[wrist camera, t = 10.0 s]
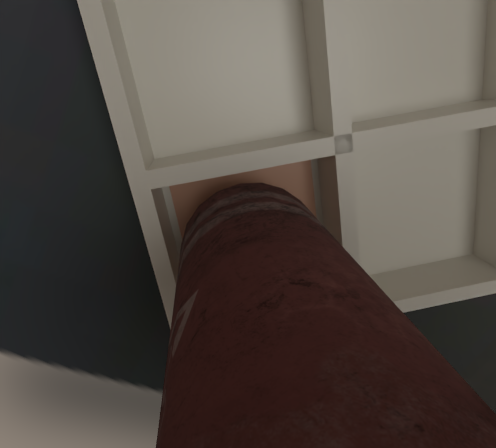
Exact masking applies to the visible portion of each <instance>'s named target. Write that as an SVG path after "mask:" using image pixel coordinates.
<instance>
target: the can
mask: <svg viewBox="0 0 496 448" xmlns="http://www.w3.org/2000/svg"><path fill="white" fill-rule="evenodd" d="M156 448H496V414H495V413H494V412H493V411H492V410H491V409H490V408H489V407H488V405H487V404H486V403H485V402H484V401H483V400H482V399H481V398H480V397H479V396H478V394H477V393H476V392H475V391H474V390H473V389H472V388H471V387H470V386H469V385H468V384H467V382H466V381H465V380H464V379H463V378H462V377H461V376H460V375H459V374H458V373H457V371H456V370H455V369H454V368H453V367H452V366H451V365H450V364H449V363H448V362H447V361H446V359H445V358H444V357H443V356H442V355H441V354H440V353H439V352H438V351H437V350H436V348H435V347H434V346H433V345H432V344H431V343H430V342H429V341H428V340H427V339H426V337H425V336H424V335H423V334H422V333H421V332H420V331H419V330H418V329H417V328H416V327H415V325H414V324H413V323H412V322H411V321H410V320H409V319H408V318H407V317H406V316H405V314H404V313H403V312H402V311H401V310H400V309H399V308H398V307H397V306H396V305H395V303H394V302H393V301H392V300H391V299H390V298H389V297H388V296H387V295H386V294H385V293H384V291H383V290H382V289H381V288H380V287H379V286H378V285H377V284H376V283H375V282H374V280H373V279H372V278H371V277H370V276H369V275H368V274H367V273H366V272H365V271H364V269H363V268H362V267H361V266H360V265H359V264H358V263H357V262H356V261H355V260H354V259H353V257H352V256H351V255H350V254H349V253H348V252H347V251H346V250H345V249H344V248H343V246H342V245H341V244H340V243H339V242H338V241H337V240H336V239H335V238H334V237H333V235H332V234H331V233H330V232H329V231H328V230H327V229H326V228H325V227H324V226H323V225H322V223H321V222H320V221H319V220H318V219H317V218H316V217H315V216H314V215H313V214H312V212H311V211H310V210H309V209H308V208H307V207H306V206H305V205H304V204H303V203H302V201H301V200H299V199H298V198H296V197H295V196H293V195H292V194H290V193H289V192H287V191H286V190H284V189H283V188H279V187H276V186H272V185H269V184H265V183H241V184H236V185H234V186H231V187H228V188H225V189H223V190H220V191H217V192H216V193H215V194H213V195H212V196H211V197H209V198H208V199H207V200H206V201H204V202H203V203H202V204H200V205H199V206H198V208H197V209H196V211H195V212H194V214H193V215H192V217H191V218H190V220H189V221H188V223H187V224H186V228H185V232H184V236H183V240H182V243H181V250H180V259H179V267H178V275H177V283H176V291H175V299H174V307H173V315H172V323H171V331H170V339H169V347H168V355H167V363H166V371H165V379H164V387H163V395H162V405H161V412H160V420H159V428H158V436H157V444H156Z"/></svg>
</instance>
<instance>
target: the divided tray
mask: <svg viewBox="0 0 496 448" xmlns="http://www.w3.org/2000/svg"><path fill="white" fill-rule="evenodd" d="M77 2H78V6H79V9H80V13H81V16H82V20H83V23H84V27H85V30H86V34H87V38H88V41H89V45H90V48H91V52H92V55H93V59H94V62H95V66H96V69H97V73H98V76H99V80H100V83H101V87H102V90H103V94H104V97H105V101H106V104H107V108H108V111H109V115H110V118H111V122H112V125H113V129H114V132H115V136H116V139H117V143H118V146H119V150H120V154H121V157H122V161H123V164H124V168H125V171H126V175H127V178H128V182H129V185H130V189H131V192H132V196H133V199H134V203H135V206H136V210H137V213H138V217H139V220H140V224H141V227H142V231H143V234H144V238H145V241H146V245H147V248H148V252H149V255H150V259H151V262H152V266H153V269H154V273H155V277H156V280H157V284H158V287H159V291H160V294H161V298H162V301H163V305H164V308H165V312H166V315H167V319H168V322H169V326H170V329H171V323H172V315H173V307H174V299H175V291H176V283H177V275H178V267H179V259H180V250H181V243H182V240H183V236H184V232H185V228H186V224H187V223H188V221H189V220H190V218H191V217H192V215H193V214H194V212H195V211H196V209H197V208H198V206H199V205H200V204H202V203H203V202H204V201H206V200H207V199H208V198H209V197H211V196H212V195H213V194H215V193H216V192H217V191H220V190H223V189H225V188H228V187H231V186H234V185H236V184H241V183H265V184H269V185H272V186H276V187H279V188H283V189H284V190H286V191H287V192H289V193H290V194H292V195H293V196H295V197H296V198H298V199H299V200H301V201H302V203H303V204H304V205H305V206H306V207H307V208H308V209H309V210H310V211H311V212H312V214H313V215H314V216H315V217H316V218H317V219H318V220H319V221H320V222H321V223H322V225H323V226H324V227H325V228H326V229H327V230H328V231H329V232H330V233H331V234H332V235H333V237H334V238H335V239H336V240H337V241H338V242H339V243H340V244H341V245H342V246H343V248H344V249H345V250H346V251H347V252H348V253H349V254H350V255H351V256H352V257H353V259H354V260H355V261H356V262H357V263H358V264H359V265H360V266H361V267H362V268H363V269H364V271H365V272H366V273H367V274H368V275H369V276H370V277H371V278H372V279H373V280H374V282H375V283H376V284H377V285H378V286H379V287H380V288H381V289H382V290H383V291H384V293H385V294H386V295H387V296H388V297H389V298H390V299H391V300H392V301H393V302H394V303H395V305H396V306H397V307H398V308H399V309H400V310H401V311H402V312H403V313H404V312H409V311H414V310H418V309H423V308H428V307H432V306H437V305H442V304H447V303H451V302H456V301H461V300H465V299H470V298H475V297H480V296H484V295H489V294H494V293H496V0H77Z"/></svg>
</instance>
